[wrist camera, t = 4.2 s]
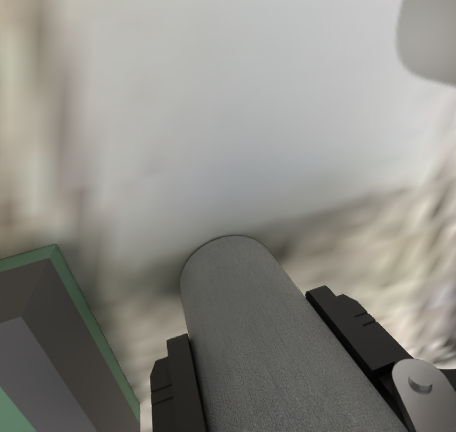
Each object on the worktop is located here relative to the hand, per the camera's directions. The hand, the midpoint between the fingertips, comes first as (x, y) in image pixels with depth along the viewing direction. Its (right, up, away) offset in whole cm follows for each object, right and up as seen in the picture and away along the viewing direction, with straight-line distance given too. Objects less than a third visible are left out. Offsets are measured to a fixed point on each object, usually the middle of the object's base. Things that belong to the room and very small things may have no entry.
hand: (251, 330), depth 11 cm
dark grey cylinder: (-1, +1, +3) cm, 4 cm away
